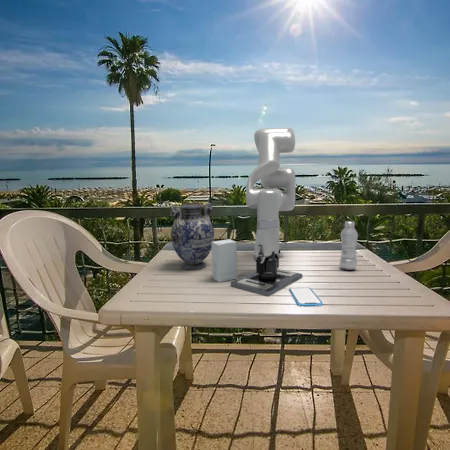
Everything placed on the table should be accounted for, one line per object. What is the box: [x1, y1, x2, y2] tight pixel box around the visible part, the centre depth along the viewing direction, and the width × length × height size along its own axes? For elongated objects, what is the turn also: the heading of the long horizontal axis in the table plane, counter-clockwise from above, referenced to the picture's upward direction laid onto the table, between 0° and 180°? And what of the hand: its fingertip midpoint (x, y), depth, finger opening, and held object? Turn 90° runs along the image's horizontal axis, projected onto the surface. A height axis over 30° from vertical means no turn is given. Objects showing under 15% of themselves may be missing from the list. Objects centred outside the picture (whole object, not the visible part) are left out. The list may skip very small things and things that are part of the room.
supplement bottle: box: [257, 251, 278, 284], centre depth 118 cm, size 7×7×12 cm
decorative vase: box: [169, 201, 215, 271], centre depth 139 cm, size 21×18×28 cm
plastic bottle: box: [339, 220, 359, 271], centre depth 131 cm, size 6×7×20 cm
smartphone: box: [288, 287, 323, 307], centre depth 104 cm, size 8×1×15 cm
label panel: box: [230, 268, 303, 297], centre depth 119 cm, size 16×24×2 cm, turn 140°
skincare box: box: [211, 238, 238, 283], centre depth 122 cm, size 8×6×15 cm
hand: (267, 270), depth 118 cm, fingers open, 9 cm apart
